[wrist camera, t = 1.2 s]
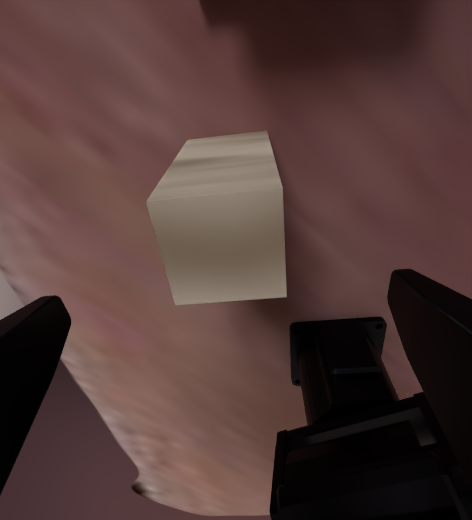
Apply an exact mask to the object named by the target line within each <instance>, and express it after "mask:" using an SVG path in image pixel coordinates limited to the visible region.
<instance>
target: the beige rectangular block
mask: <svg viewBox="0 0 472 520" xmlns="http://www.w3.org/2000/svg"><path fill="white" fill-rule="evenodd" d="M146 203H147V207H148V210H149V214H150V217H151V221H152V224H153V228H154V232H155V235H156V239H157V242H158V246H159V249H160V253H161V256H162V260H163V263H164V267H165V271H166V274H167V278H168V281H169V285H170V288H171V292H172V295H173V299H174V302H175V305H184V304H198V303H212V302H226V301H240V300H254V299H267V298H281V297H287V290H286V263H285V237H284V211H283V187H282V184H281V180H280V176H279V173H278V169H277V165H276V162H275V158H274V154H273V151H272V147H271V143H270V140H269V136H268V132H267V131H260V132H252V133H243V134H234V135H226V136H217V137H208V138H200V139H191V140H187V141H186V143H185V144H184V146H183V147H182V149H181V150H180V152H179V153H178V155H177V156H176V158H175V159H174V161H173V162H172V164H171V165H170V167H169V168H168V170H167V171H166V173H165V174H164V176H163V177H162V179H161V180H160V182H159V183H158V185H157V186H156V188H155V189H154V191H153V192H152V194H151V195H150V196H149V198H148V199H147V201H146Z"/></svg>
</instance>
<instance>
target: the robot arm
mask: <svg viewBox="0 0 472 520" xmlns="http://www.w3.org/2000/svg"><path fill="white" fill-rule="evenodd" d="M387 299H388V304H389V307H390V310H391V313H392V316H393V319H394V322H395V325H396V328H397V331H398V333H399V336H400V339H401V342H402V345H403V348H404V350H405V353H406V356H407V358H408V360H409V362H410V365H411V367H412V369H413V371H414V373H415V375H416V377H417V379H418V381H419V383H420V385H421V387H422V389H423V391H424V392H421V393H417V394H413V395H414V396H413V397H410V398H406V399H402V400H399V398H398V395H397V393H396V391H395V389H394V386H393V384H392V382H391V380H390V377H389V375H388V373H387V371H386V368H385V366H384V364H383V362H382V359H381V354H382V348H383V343H384V338H385V332H386V327H387V324H386V322H385V320H384V319H383V318H382V317H368V318H352V319H337V320H322V321H306V322H295V323H292V324H291V325H290V355H291V379H292V384H293V385H296V386H301V389H302V395H303V401H304V407H305V413H306V419H307V425H308V426H304V427H300V428H297V429H293V430H290V431H287V430H283V431H280V432H278V433H277V442H276V448H275V459H274V470H273V480H272V491H271V502H270V516H271V519H272V520H472V299H470V298H468V297H466V296H464V295H462V294H460V293H458V292H456V291H454V290H452V289H450V288H448V287H446V286H444V285H442V284H440V283H438V282H436V281H434V280H432V279H430V278H428V277H426V276H424V275H422V274H420V273H418V272H416V271H414V270H412V269H398V270H394V271H393V272H392V274H391V278H390V284H389V290H388V296H387ZM377 324H378V325H377ZM70 326H71V318H70V315H69V313H68V311H67V309H66V307H65V306H64V304H63V302H62V300H61V298H60V297H58V296H56V295H54V296H43V297H40V298H38V299H37V300H35V301H33V302H31V303H30V304H28V305H26V306H24V307H23V308H21V309H19V310H17V311H16V312H14V313H12V314H10V315H9V316H7V317H5V318H3V319H1V320H0V495H1V493H2V491H3V488H4V486H5V484H6V482H7V479H8V477H9V475H10V473H11V470H12V468H13V466H14V464H15V462H16V459H17V457H18V455H19V453H20V450H21V448H22V446H23V444H24V441H25V439H26V437H27V435H28V433H29V430H30V428H31V425H32V424H33V422H34V419H35V417H36V415H37V413H38V410H39V408H40V406H41V404H42V401H43V399H44V397H45V395H46V392H47V390H48V388H49V386H50V384H51V381H52V379H53V377H54V374H55V371H56V369H57V366H58V362H59V360H60V357H61V354H62V351H63V348H64V345H65V342H66V339H67V336H68V333H69V330H70ZM295 329H299V330H295ZM424 393H425V394H424ZM425 395H426V396H425ZM426 397H427V398H426Z"/></svg>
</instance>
